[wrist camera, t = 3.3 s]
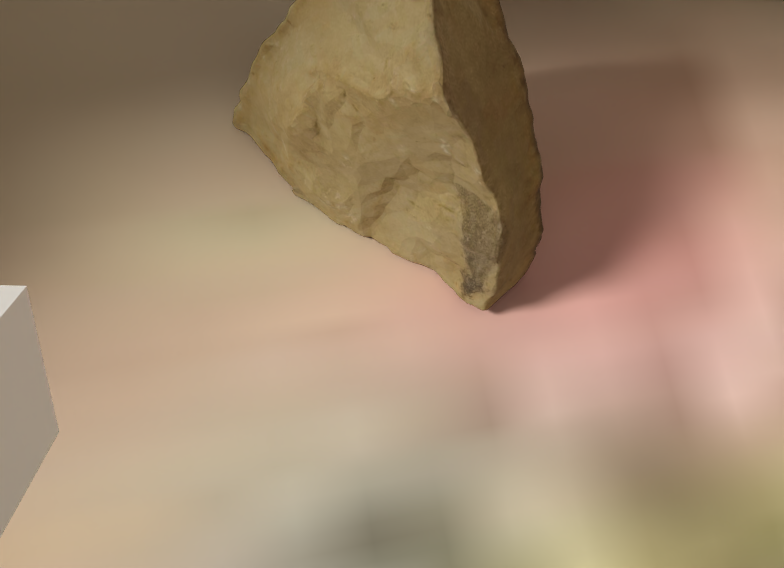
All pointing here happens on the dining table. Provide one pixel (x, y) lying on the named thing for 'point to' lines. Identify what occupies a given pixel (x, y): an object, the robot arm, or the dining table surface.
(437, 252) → the rock
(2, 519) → the robot arm
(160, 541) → the dining table surface
